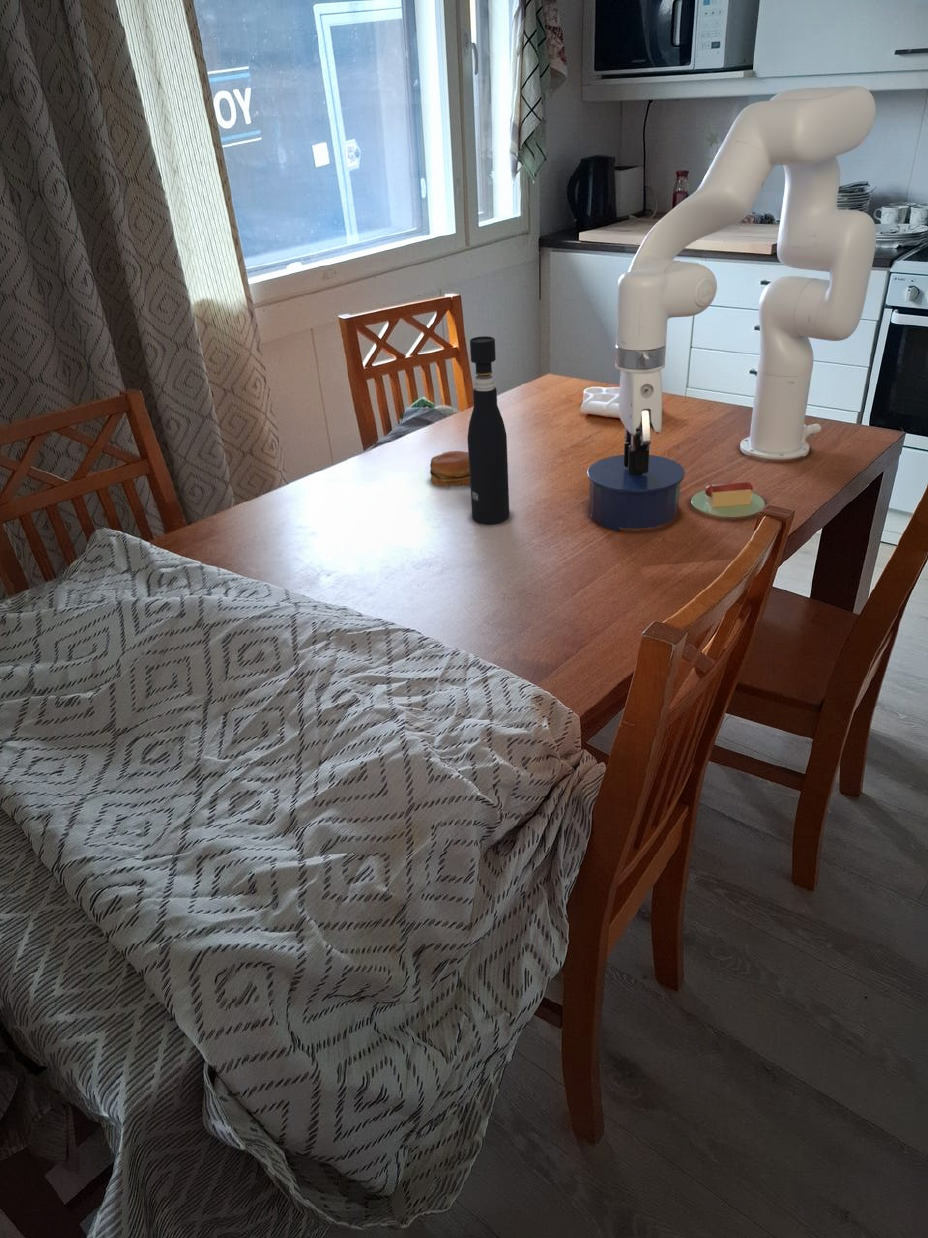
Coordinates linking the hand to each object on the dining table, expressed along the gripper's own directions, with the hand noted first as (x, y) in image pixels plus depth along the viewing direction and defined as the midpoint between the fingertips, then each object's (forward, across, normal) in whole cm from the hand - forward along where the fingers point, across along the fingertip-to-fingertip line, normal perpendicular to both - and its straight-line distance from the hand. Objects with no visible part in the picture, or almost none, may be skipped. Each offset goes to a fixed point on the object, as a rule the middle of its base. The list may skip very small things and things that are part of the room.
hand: (635, 468), depth 141 cm
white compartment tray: (+8, +54, -9) cm, 56 cm away
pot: (+8, 0, 0) cm, 8 cm away
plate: (+8, 0, -16) cm, 18 cm away
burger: (+8, +22, +29) cm, 37 cm away
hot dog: (+7, 0, -16) cm, 18 cm away
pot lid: (+1, 0, 0) cm, 1 cm away
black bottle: (+8, +3, +24) cm, 26 cm away
